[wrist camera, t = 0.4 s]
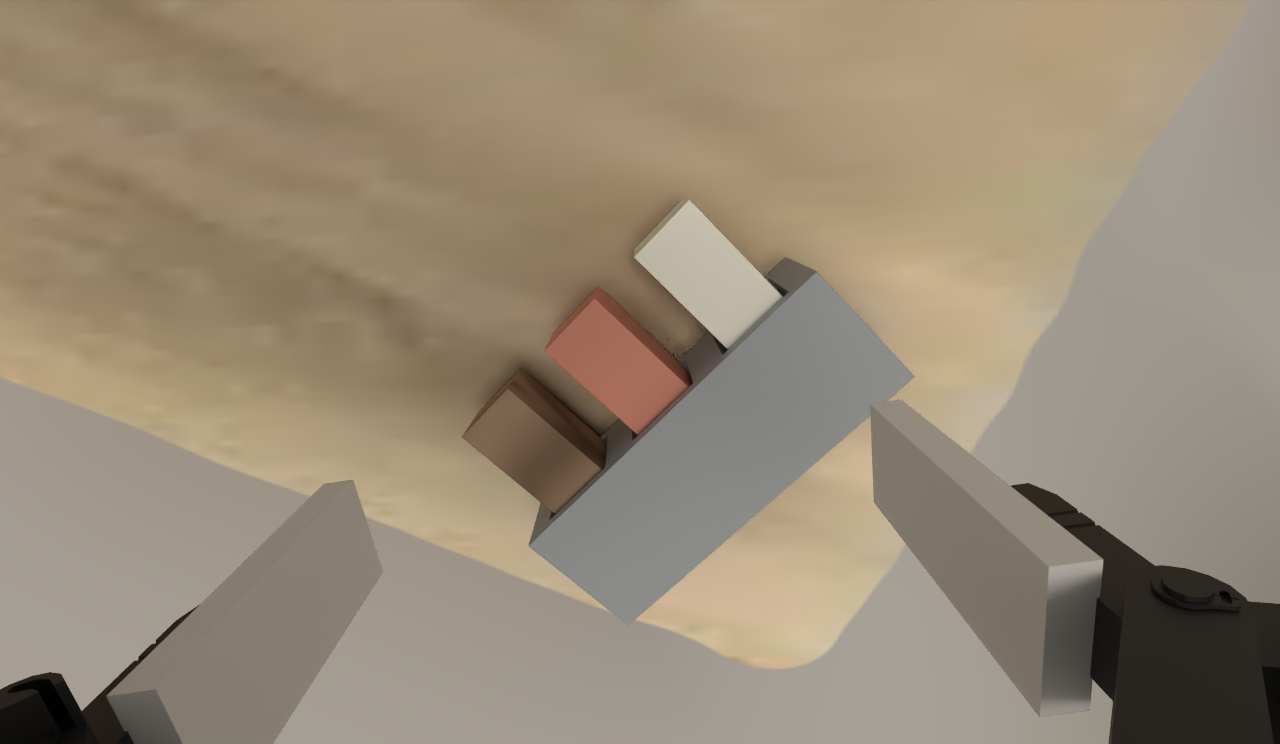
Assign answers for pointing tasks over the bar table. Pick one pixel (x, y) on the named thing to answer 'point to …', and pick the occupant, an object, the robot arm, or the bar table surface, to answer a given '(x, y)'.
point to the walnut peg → (537, 442)
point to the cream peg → (706, 273)
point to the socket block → (721, 445)
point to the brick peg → (618, 361)
